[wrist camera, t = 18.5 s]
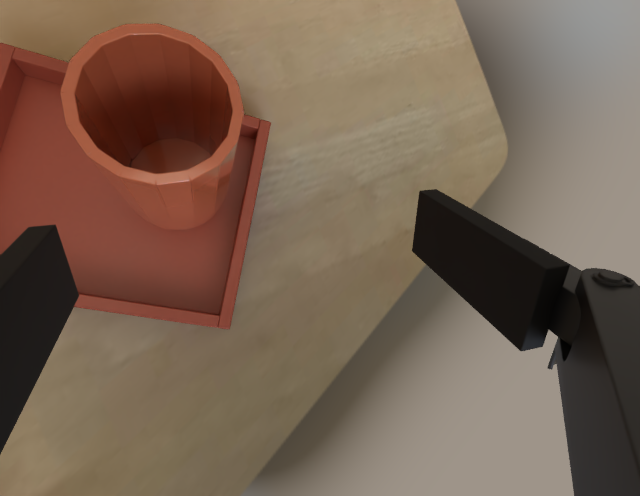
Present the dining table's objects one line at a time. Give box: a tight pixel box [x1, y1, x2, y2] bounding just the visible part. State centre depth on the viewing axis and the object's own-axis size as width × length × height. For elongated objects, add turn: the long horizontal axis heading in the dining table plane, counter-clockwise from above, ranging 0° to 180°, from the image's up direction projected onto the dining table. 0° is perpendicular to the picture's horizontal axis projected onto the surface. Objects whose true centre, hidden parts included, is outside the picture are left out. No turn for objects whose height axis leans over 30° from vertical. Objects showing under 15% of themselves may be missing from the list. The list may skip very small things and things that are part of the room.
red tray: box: [0, 43, 271, 329], centre depth 26 cm, size 17×15×3 cm
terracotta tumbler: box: [60, 24, 244, 231], centre depth 22 cm, size 7×7×12 cm
